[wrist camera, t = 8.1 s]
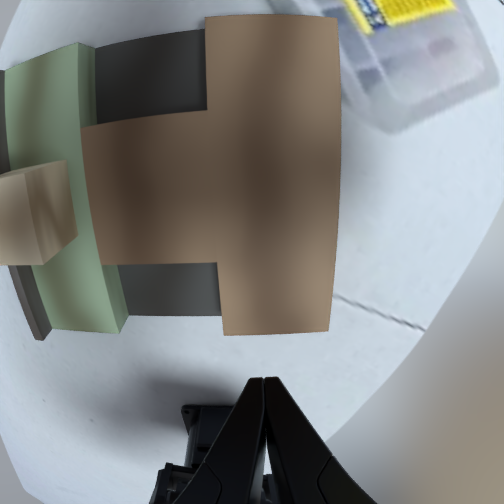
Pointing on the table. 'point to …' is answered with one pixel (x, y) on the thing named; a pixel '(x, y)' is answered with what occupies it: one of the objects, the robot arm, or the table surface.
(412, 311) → the table surface
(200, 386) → the table surface
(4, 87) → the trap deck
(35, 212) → the maple block
